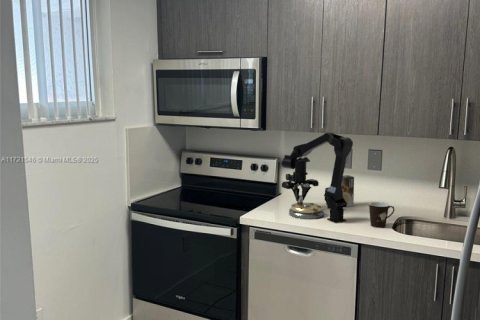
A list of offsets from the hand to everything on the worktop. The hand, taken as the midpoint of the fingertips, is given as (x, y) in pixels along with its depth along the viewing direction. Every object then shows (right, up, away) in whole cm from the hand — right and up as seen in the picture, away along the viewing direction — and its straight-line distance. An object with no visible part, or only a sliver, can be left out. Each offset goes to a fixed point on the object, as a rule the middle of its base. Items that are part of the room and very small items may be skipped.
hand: (299, 200), depth 222 cm
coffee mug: (+34, -10, -24) cm, 42 cm away
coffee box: (+25, -4, +13) cm, 29 cm away
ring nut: (+2, -4, -5) cm, 7 cm away
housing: (+2, -7, -5) cm, 8 cm away
